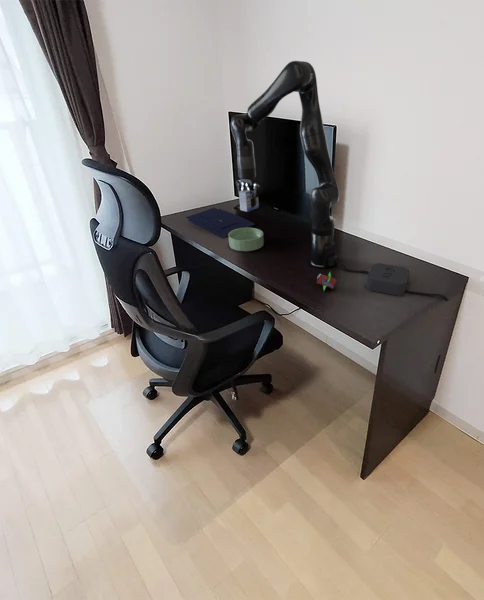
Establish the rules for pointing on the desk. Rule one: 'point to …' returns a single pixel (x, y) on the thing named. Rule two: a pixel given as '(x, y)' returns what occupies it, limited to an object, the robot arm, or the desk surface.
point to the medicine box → (246, 201)
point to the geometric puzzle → (326, 281)
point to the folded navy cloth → (219, 221)
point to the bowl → (246, 239)
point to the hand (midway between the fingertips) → (249, 205)
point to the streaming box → (388, 279)
